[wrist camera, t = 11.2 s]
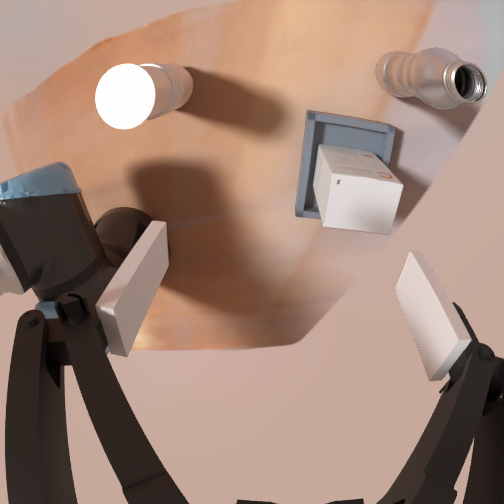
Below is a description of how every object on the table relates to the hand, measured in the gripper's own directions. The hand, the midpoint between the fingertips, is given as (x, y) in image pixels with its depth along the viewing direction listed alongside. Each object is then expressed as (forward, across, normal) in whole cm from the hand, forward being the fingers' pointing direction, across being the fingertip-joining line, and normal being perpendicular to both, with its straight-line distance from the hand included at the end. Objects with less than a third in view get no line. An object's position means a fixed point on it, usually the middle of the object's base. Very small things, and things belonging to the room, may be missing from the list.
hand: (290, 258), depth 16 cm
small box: (+29, +9, -3) cm, 31 cm away
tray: (+29, +9, -3) cm, 31 cm away
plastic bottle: (+29, +14, +12) cm, 35 cm away
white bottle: (+30, -16, +6) cm, 35 cm away
